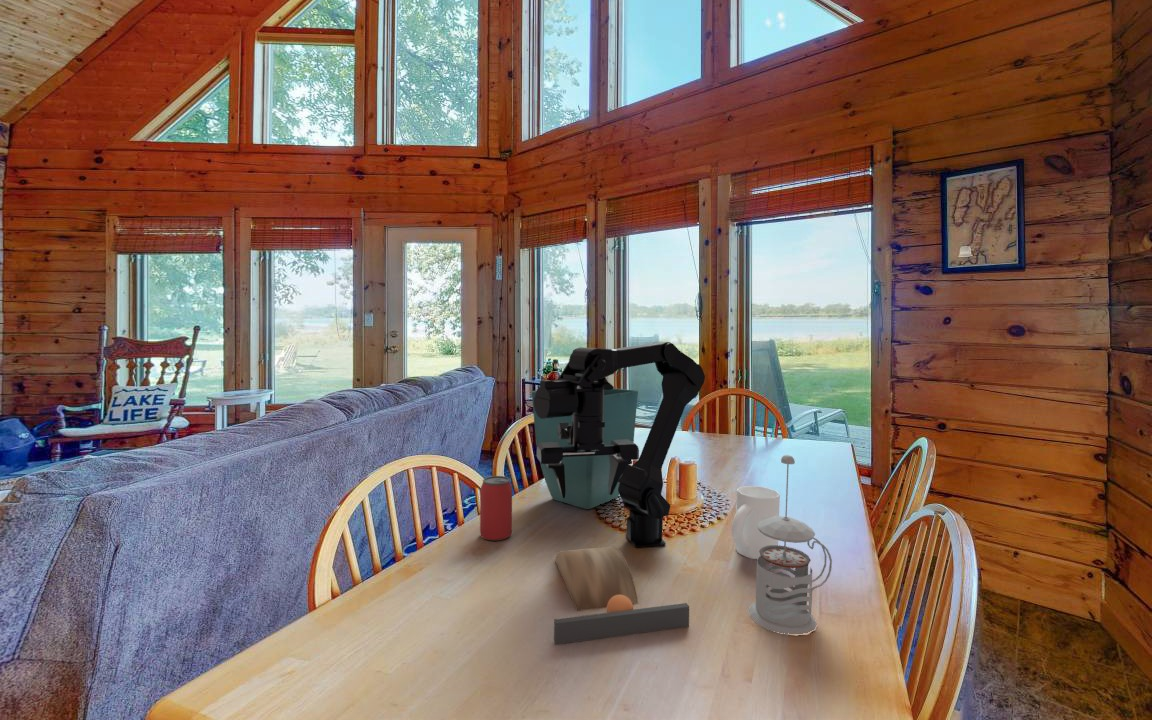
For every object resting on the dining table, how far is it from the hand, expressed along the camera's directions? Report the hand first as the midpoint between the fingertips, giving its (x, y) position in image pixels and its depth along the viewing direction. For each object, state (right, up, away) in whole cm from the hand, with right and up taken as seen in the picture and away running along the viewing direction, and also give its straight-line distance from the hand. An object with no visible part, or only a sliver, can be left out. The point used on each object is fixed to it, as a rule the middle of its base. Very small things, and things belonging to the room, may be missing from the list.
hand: (587, 495), depth 95 cm
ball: (+4, -11, -21) cm, 24 cm away
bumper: (+5, -13, -23) cm, 27 cm away
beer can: (-19, -11, +10) cm, 25 cm away
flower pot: (0, -10, +35) cm, 36 cm away
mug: (+32, -13, +3) cm, 35 cm away
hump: (+1, -30, -7) cm, 31 cm away
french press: (+30, -14, -19) cm, 38 cm away
